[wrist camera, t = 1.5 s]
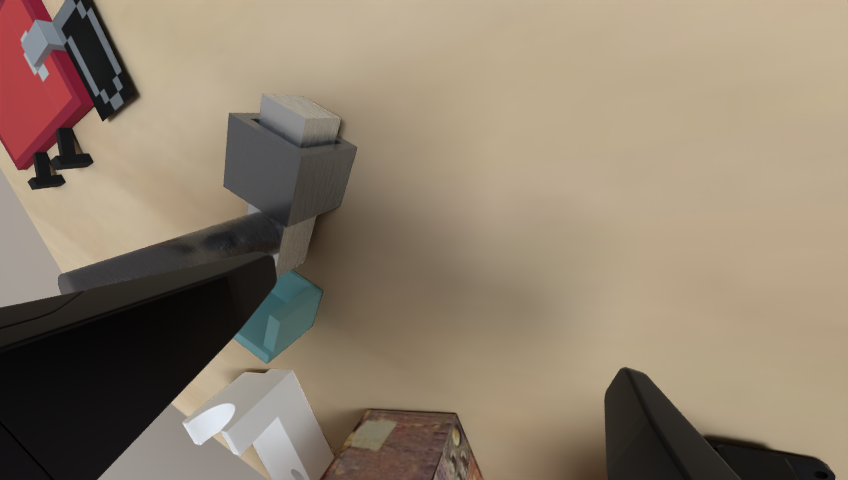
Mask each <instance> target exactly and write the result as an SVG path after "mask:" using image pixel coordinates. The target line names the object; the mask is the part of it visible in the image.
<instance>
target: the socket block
mask: <svg viewBox="0 0 848 480" xmlns="http://www.w3.org/2000/svg"><path fill="white" fill-rule="evenodd" d="M322 293H323V291H322V290H321V289H319V288H318V287H316V286H315V285H314V284H312V283H311V282H309V281H308V280H306V279H305V278H303V277H302V276H300V275H299V274H297V273H296V272H295V271H293V270H291V271H289V272H287V273H285V274H284V275H282V276H280V277H278V278H277V283H276V285H275V287H274V289H273V290H272V291H271V292H270V294H269V295H268V296H267V297H266V299H265V300H264V301H263V302H262V304H261V305H260V306H259V307H258V309H257V310H256V311H255V312H254V314H253V315H252V316H251V317H250V319H249V320H248V321H247V322H246V324H245V325H244V326H243V327H242V328H241V330H240V331H239V332H238V333H237V334H236V335H235V336H234V337H233V338H234V339H235V340H236V341H238V342H239V343H240V344H241V345H243V346H244V347H245V348H247V349H248V350H249V351H251V352H252V353H253V354H254V355H256V356H257V357H258V358H260V359H261V360H262V361H264V362H265V363H266V364H268V363H269V362H270V361H271V360H273V359H274V358H275V357H276V356H277V355H279V354H280V353H281V352H282V351H283V350H284V349H286V348H287V347H288V346H289V345H290V344H292V343H293V342H294V341H295V340H296V339H298V338H299V337H300V336H301V335H302V334H304V333H305V332H306V331H307V330H308V329H310V328H311V327H312V325H313V322H314V319H315V315H316V312H317V309H318V306H319V303H320V299H321V296H322Z"/></svg>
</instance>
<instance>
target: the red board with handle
mask: <svg viewBox="0 0 848 480" xmlns="http://www.w3.org/2000/svg"><path fill="white" fill-rule="evenodd" d="M132 95H133V93H132V91H131V89H130V87H129V85H128V83H127V81H126V79H125V77H124V74H123V72H122V70H121V68H120V66H119V64H118V62H117V60H116V58H115V56H114V54H113V52H112V50H111V48H110V45H109V43H108V41H107V39H106V37H105V35H104V33H103V31H102V29H101V27H100V25H99V23H98V21H97V18H96V16H95V14H94V12H93V10H92V8H91V6H90V4H89V2H88V0H65V2H64V4H63V5H62V7H61V8H60V10H59V12H58V13H57V15H56V16H55V18H54V20H53V21H52V20H51V18H50V16H49V14H48V12H47V10H46V8H45V6H44V5H43V3H42V1H41V0H0V140H1V142H2V144H3V145H4V147H5V149H6V150H7V152H8V154H9V156H10V157H11V159H12V161H13V162H14V164H15V166H16V167H17V169H18V170H26V169H28V168H29V167H30V166H31V165H33V164H34V166H35V172H36V177H34V178H31V179H30V180H29V181H28V184H29V185H30V187H31V189H32V190H35V189H42V188H50V187H58V186H61V185H63V184H64V183H66V181H65V180H64V178H63V176H62V175H52V176H51V172H50V166H49V160H48V154H47V151H48V150H49V149H50V148H51V147H52V146H53V145H54V144H55V143H56V142H57V143H58V149H59V155H60V156H55V157H54V158H53V159H52V160H51V161H50V162H51V164H52V165H53V167H54V169H55V170H63V169H73V168H83V167H88V166H89V165H91V164H92V163H93V160H92V158H91V156H90V154H89V153H88V154H76V151H75V145H74V139H73V134H72V127H73V126H74V125H75V124H76V123H77V122H78V121H79V120H80V119H81V118H82V117H83V116H84V115H85V114H86V113H87V112H88V111H89V110H90V109H91V108H92V107H93V106H95V108H96V110H97V112H98V114H99V116H100V117H101V119H102V121H104V120H105V119H106V118H107V117H109V116H110V115H111V114H112V113H113V112H114V111H115V110H116V109H118V108H119V107H120V106H121V105H122V104H123V103H124V102H125V101H127V100H128V99H129V98H130V97H131V96H132Z"/></svg>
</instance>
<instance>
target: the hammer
mask: <svg viewBox="0 0 848 480" xmlns="http://www.w3.org/2000/svg"><path fill="white" fill-rule="evenodd" d="M340 121H341V118H340V117H339V116H337V115H335V114H333V113H331V112H330V111H328V110H326V109H324V108H322V107H321V106H319V105H317V104H315V103H313V102H312V101H310V100H308V99H306V98H304V97H303V96H289V95H274V94H262V98H261V106H260V115H259V123H258V124H260V125H262V126H263V127H265V128H267V129H268V130H270V131H272V132H273V133H275V134H277V135H278V136H280V137H282V138H283V139H285V140H287V141H288V142H290V143H292V144H294V145H295V146H297V147H299V148H300V149H302V148H310V147H318V146H325V145H333V144H335V140H336V136H337V133H338V129H339V125H340ZM315 219H316V216H315V217H312V218H310V219H307V220H305V221H303V222H300V223H298V224H295V225H293V226H290V227H288V228H286V227H285V226H283V225H282V224H280V223H278V222H277V221H275V220H274V219H272V218H271V217H269V216H268V215H266V214H265V213H263V212H262V211H260V210H259V209H257V208H256V207H254V206H253V205H251V204H250V203H248V211H247V215H246V216H243V217H240V218H237V219H234V220H230V221H227V222H224V223H221V224H218V225H215V226H211V227H208V228H205V229H202V230H199V231H196V232H193V233H189V234H186V235H183V236H180V237H177V238H174V239H170V240H167V241H164V242H161V243H158V244H155V245H152V246H148V247H145V248H142V249H139V250H136V251H133V252H129V253H126V254H123V255H120V256H117V257H114V258H111V259H107V260H104V261H101V262H98V263H95V264H92V265H88V266H85V267H82V268H79V269H76V270H73V271H70V272H66V273H63V274H61V275H60V276H59V277H58V285H59V289H60V292H61V295H64V294H68V293H73V292H77V291H82V290H84V291H86V290H87V289H91V288H95V287H100V286H104V285H109V284H113V283H118V282H122V281H127V280H131V279H136V278H140V277H145V276H149V275H154V274H158V273H163V272H167V271H172V270H176V269H181V268H185V267H190V266H194V265H199V264H203V263H208V262H212V261H217V260H221V259H226V258H230V257H235V256H239V255H244V254H248V253H253V252H264V253H267V254H270V255H272V256H273V257H274V260H275V266H276V274H277V278H278V277H280V276H282V275H284V274H285V273H287V272H289V271H291V270H292V269H294V268H296V267H298V266H299V265H301V264H303V263H304V262H305V259H306V255H307V251H308V247H309V243H310V239H311V235H312V231H313V227H314V223H315Z"/></svg>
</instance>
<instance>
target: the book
mask: <svg viewBox="0 0 848 480" xmlns="http://www.w3.org/2000/svg"><path fill="white" fill-rule="evenodd" d="M319 480H484V479H483V477H482V474H481V472H480V470H479V467H478V465H477V462H476V460H475V457H474V455H473V453H472V450H471V448H470V445H469V443H468V440H467V438H466V436H465V433H464V431H463V428H462V426H461V423H460V421H459V418H458V416H457V414H443V413H423V412H404V411H384V410H367V411H366V412H365V413H364V415H363V416H362V418H361V419H360V421H359V422H358V424H357V425H356V426H355V428H354V429H353V431H352V432H351V434H350V435H349V437H348V438H347V440H346V441H345V443H344V444H343V446H342V447H341V449H340V450H339V452H338V453H337V454H336V456H335V457H334V459H333V460H332V462H331V463H330V465H329V466H328V468H327V469H326V471H325V472H324V474H323V475H322V477H321V478H320V479H319Z"/></svg>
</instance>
